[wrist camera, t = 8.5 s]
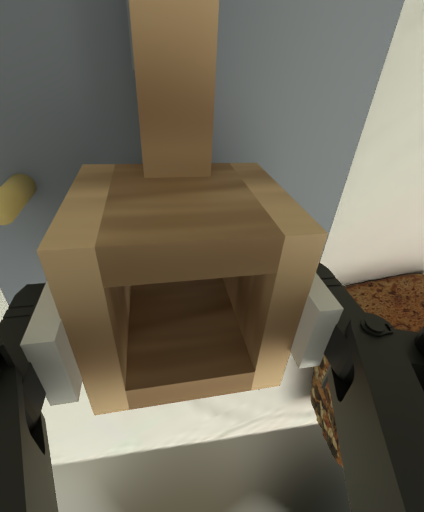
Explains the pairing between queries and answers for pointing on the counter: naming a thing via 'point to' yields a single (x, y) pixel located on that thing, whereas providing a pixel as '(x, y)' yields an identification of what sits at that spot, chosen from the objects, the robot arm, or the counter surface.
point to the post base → (225, 102)
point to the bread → (386, 306)
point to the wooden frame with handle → (178, 242)
